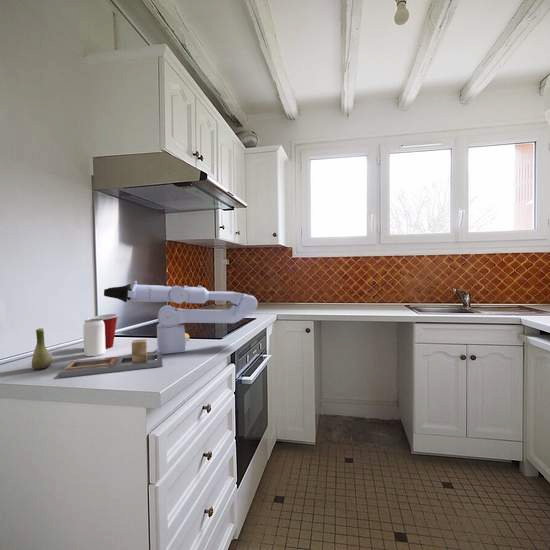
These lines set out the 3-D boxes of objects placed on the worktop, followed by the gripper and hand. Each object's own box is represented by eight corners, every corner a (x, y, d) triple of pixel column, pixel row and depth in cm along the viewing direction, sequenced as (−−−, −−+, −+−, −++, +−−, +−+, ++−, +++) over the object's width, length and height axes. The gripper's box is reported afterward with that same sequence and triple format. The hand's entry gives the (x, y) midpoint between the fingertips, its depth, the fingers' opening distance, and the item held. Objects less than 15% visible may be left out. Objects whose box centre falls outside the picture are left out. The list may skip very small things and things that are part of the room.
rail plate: (162, 356, 110) (162, 351, 109) (162, 366, 98) (162, 360, 98) (72, 365, 101) (71, 360, 101) (60, 377, 90) (60, 371, 90)
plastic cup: (84, 347, 126) (83, 315, 126) (115, 342, 133) (113, 312, 133) (91, 352, 118) (89, 318, 118) (123, 347, 125) (122, 315, 125)
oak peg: (147, 361, 104) (146, 339, 104) (146, 364, 100) (145, 341, 100) (133, 362, 103) (132, 340, 103) (132, 366, 99) (131, 343, 99)
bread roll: (174, 344, 129) (174, 334, 129) (164, 341, 136) (164, 331, 136) (193, 340, 135) (193, 330, 134) (183, 337, 141) (183, 328, 141)
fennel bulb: (37, 366, 102) (36, 327, 102) (55, 364, 103) (54, 326, 103) (28, 371, 96) (26, 330, 96) (47, 370, 97) (45, 329, 97)
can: (96, 357, 111) (95, 321, 111) (79, 356, 112) (78, 321, 112) (109, 352, 117) (108, 318, 117) (93, 352, 119) (92, 318, 118)
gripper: (151, 281, 122) (110, 279, 117) (149, 282, 108) (103, 280, 104) (150, 300, 122) (108, 299, 117) (148, 304, 108) (101, 303, 103)
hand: (106, 291), depth 110 cm, fingers open, 7 cm apart
